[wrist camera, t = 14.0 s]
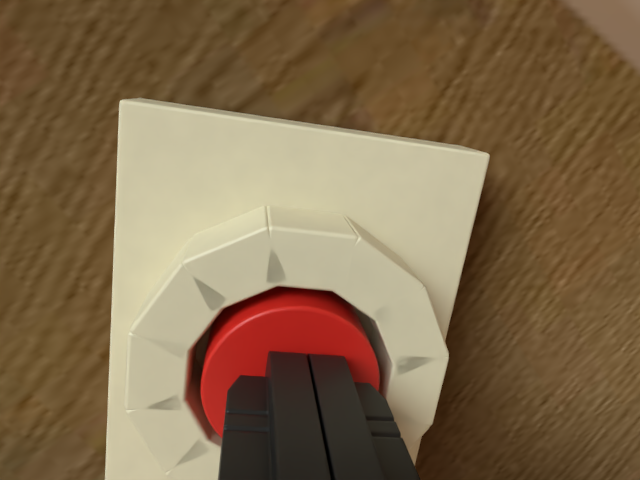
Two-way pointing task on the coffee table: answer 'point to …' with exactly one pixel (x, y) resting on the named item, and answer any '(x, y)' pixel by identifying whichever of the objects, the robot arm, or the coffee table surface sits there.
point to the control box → (272, 261)
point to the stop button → (281, 340)
